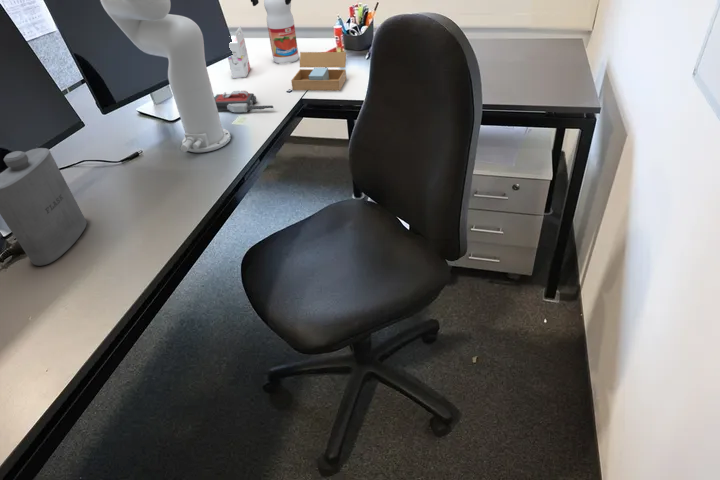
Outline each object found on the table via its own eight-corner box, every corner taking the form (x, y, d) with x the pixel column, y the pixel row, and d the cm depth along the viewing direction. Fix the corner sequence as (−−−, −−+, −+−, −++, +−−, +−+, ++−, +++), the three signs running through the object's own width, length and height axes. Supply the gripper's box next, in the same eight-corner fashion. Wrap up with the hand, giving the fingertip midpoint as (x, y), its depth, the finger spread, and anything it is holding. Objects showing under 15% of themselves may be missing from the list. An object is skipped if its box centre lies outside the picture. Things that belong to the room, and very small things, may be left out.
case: (324, 88, 153) (322, 75, 150) (310, 88, 154) (308, 75, 151) (329, 80, 158) (328, 67, 156) (315, 80, 159) (314, 67, 156)
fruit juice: (292, 53, 183) (279, -30, 165) (303, 60, 176) (291, -27, 159) (269, 59, 179) (254, -26, 162) (280, 66, 173) (265, -22, 155)
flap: (299, 67, 159) (299, 67, 159) (345, 67, 156) (345, 67, 156) (300, 52, 158) (300, 52, 159) (345, 52, 155) (346, 52, 156)
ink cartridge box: (237, 69, 173) (227, 26, 164) (250, 68, 173) (241, 25, 163) (231, 78, 166) (221, 33, 157) (246, 77, 166) (236, 32, 157)
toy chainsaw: (207, 114, 144) (273, 113, 142) (203, 100, 141) (270, 98, 139) (217, 102, 150) (279, 100, 148) (213, 88, 148) (277, 86, 146)
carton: (301, 79, 161) (299, 69, 159) (346, 79, 158) (345, 69, 156) (292, 91, 154) (291, 80, 152) (339, 91, 151) (338, 80, 149)
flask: (55, 266, 92) (-1, 176, 80) (27, 266, 93) (-33, 177, 81) (95, 220, 104) (52, 134, 91) (70, 219, 105) (24, 135, 92)
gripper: (222, -62, 124) (238, 9, 135) (286, -67, 121) (298, 6, 132) (233, -68, 130) (247, 1, 141) (294, -72, 127) (304, -1, 138)
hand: (272, 4), depth 137 cm, fingers open, 9 cm apart
